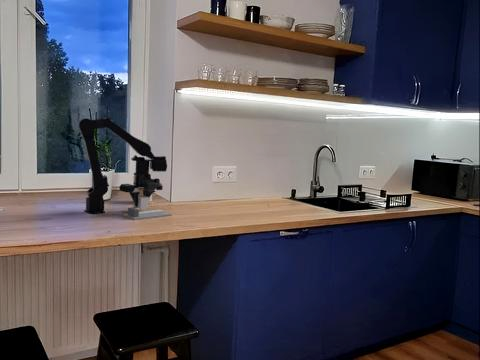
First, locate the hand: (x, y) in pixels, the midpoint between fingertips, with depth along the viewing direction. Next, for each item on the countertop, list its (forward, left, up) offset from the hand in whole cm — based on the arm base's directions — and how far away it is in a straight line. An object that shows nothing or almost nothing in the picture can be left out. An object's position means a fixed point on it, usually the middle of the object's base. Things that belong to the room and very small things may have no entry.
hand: (140, 206), depth 193 cm
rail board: (-2, -9, -2) cm, 9 cm away
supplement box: (+12, +17, -2) cm, 21 cm away
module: (0, 0, -1) cm, 1 cm away
